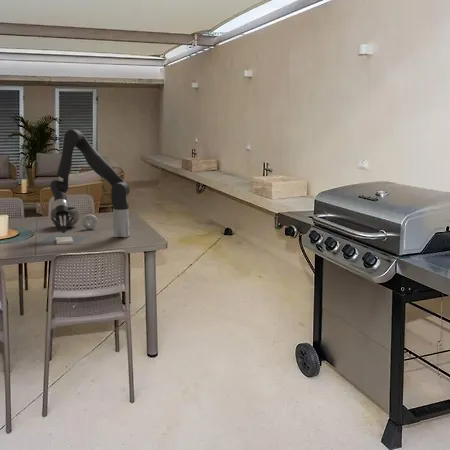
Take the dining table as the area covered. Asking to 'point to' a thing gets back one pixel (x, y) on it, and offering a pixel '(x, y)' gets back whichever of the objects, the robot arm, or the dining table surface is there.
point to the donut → (91, 217)
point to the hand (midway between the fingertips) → (63, 232)
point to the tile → (64, 240)
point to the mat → (52, 238)
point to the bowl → (72, 213)
